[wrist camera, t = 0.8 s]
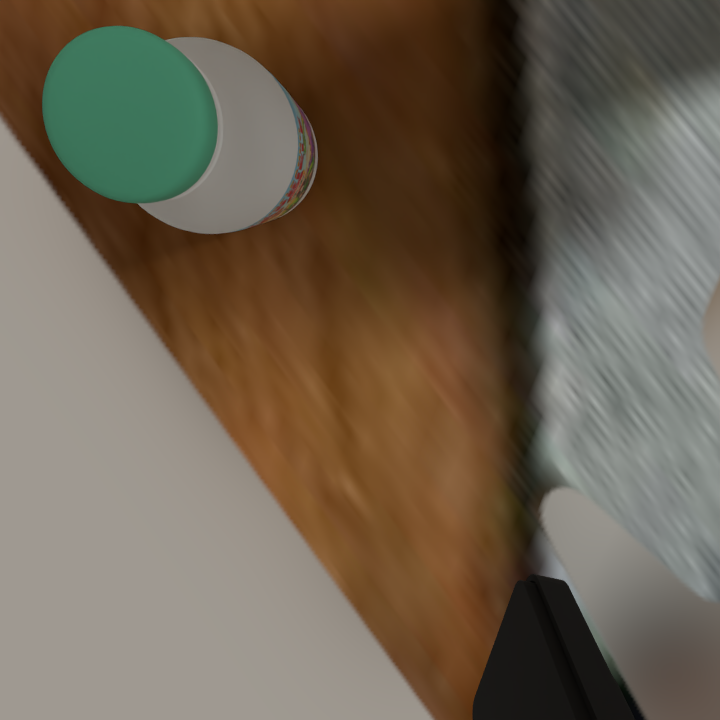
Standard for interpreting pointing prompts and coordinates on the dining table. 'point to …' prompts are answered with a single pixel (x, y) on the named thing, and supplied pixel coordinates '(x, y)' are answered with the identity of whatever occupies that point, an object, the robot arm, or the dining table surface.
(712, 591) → the dining table surface
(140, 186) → the milk bottle
